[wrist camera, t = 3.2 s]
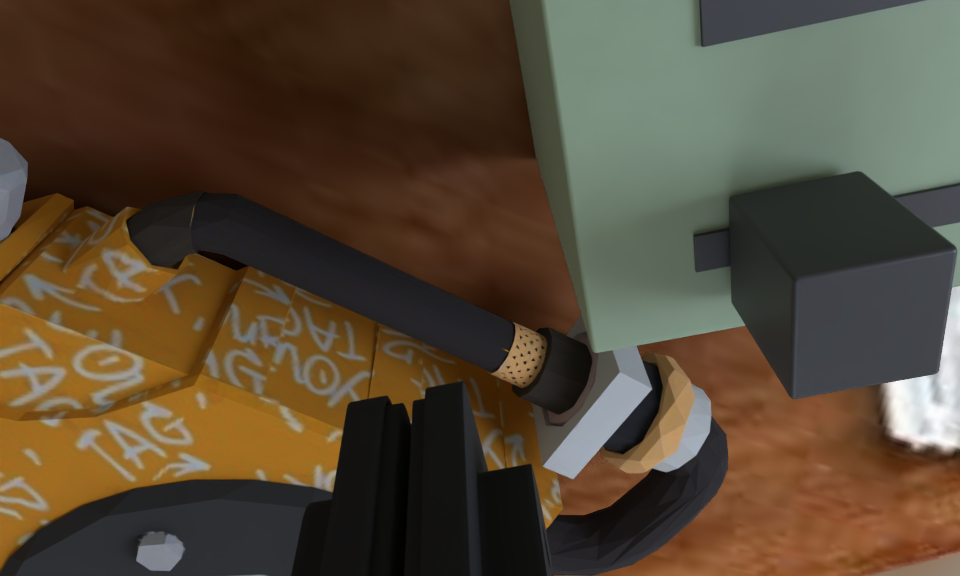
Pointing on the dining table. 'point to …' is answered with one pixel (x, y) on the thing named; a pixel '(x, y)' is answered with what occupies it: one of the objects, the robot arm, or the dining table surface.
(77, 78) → the dining table surface
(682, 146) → the toaster
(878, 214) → the slider
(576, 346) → the device
